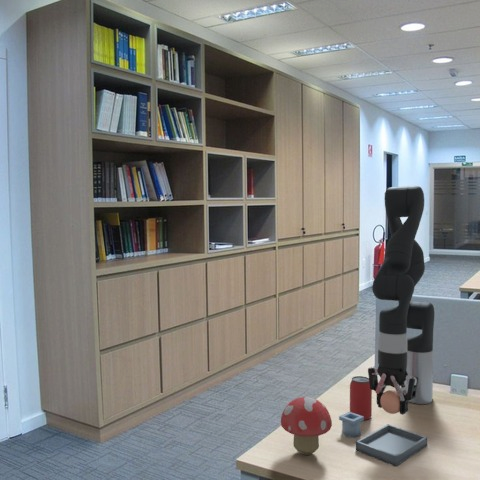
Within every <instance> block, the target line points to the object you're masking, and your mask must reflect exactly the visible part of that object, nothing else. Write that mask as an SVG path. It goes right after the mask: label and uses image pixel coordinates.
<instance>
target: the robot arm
mask: <svg viewBox="0 0 480 480" xmlns="http://www.w3.org/2000/svg"><path fill="white" fill-rule="evenodd" d="M424 194H425V193H424V190H423V187H421V186H419V185H407V186H406V185H404V186H391V187H388V188H387V189H386V190H385V192H384V208H385V214H386V218H387V222H388V227H389V234H390V238H389V240H388V241H387V243H386V247H385V253H384V258H383V262H382V265H381V266H380V268H379V270H378V271H377V273H376V275H375V277H374V279H373V281H372V285H371V286H372V287H371V288H372V289H371V290H372V292H373V293H372V294H373V295H374V296H375V298H377V299H378V300H382V301H393V302H394V301H395V302H396V301H398V305H397V306H396V307H389V308H384V309H381V310H380V312H379V317H378V318H379V319H378V321H379V324H378V326H379V328H378V331H379V332H378V337H377V365H378V366H377V367H376V366H375V365H374V366H371V367H369V368H368V369H367V372H368V378H369V384H370V389H371V390H372V391H374V392H375V393H376V404H377V407H378V408H379V409H383V408H382V406H381V403H380V399H381V396H382V395H383V393H384V392H385V390H386V388H387V387H389V386H390V387H392V388H394V389H395V391H396V392H397V393H398V394H399V397H400V399H401V400H400V412H399V414H400V415H405V414H407V412H408V411H409V403H412V404H417V405H426V404H430V403H432V402H433V394H434V393H433V391H434V390H433V385H434V384H433V383H434V380H433V379H434V375H433V373H434V372H433V364H434V363H433V362H434V361H433V359H434V358H433V356H434V355H433V354H434V352H433V351H434V326H435V307H434V305H433V304H432V303H431V302H428V301H427V302H425V301H415V300H412V298H413V295H414V293H415V292H414V291H415V287H416V285H418V283H419V282H420V280H421V279H422V277H423V275H424V273H425V269H426V266H425V257H424V250H423V248H422V247H421V245H420V244H419V243H418V242H417V240H416V236H417V232H418V229H419V227H420V223H421V220H422V217H423V214H424V210H425V195H424ZM401 218H406V220H405V221H404V222H402V219H401ZM407 329H413V330H420V331H421V333H420V334H418V335H416V336H411V337H408V335H407V334H408V333H407V332H408V330H407ZM378 375H379V377H380V379H379V378H378Z"/></svg>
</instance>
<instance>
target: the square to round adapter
mask: <svg viewBox="0 0 480 480" xmlns="http://www.w3.org/2000/svg"><path fill="white" fill-rule="evenodd" d="M338 420H339V421H342V422H341V426H342V427H341V428H342V429H341V430H342V431H341V433H342V435H343V436H345V437H347V438H358V437H360V436H362V435H361V433H362V431H361V430H362V426H361V424H362V423H361V422H362V421H365V420H364V416H361V415H358V414H355V413H352V412H350V411H348V412H345V413H343V414H341V415H339V416H338Z"/></svg>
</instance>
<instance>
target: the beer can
mask: <svg viewBox="0 0 480 480" xmlns="http://www.w3.org/2000/svg"><path fill="white" fill-rule="evenodd" d="M372 392H373V390H371V389H370V384H369V377H367V376H361V375H357V376H352V377H351V382H350V384H349V412H352V413H355V414H358V415H361V416H364V420H363V421H368V420H370V419H371V418H372V415H373V413H372V409H373V405H372V403H373V400H372V398H373V397H372V396H373V393H372Z"/></svg>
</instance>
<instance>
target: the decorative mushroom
mask: <svg viewBox="0 0 480 480" xmlns="http://www.w3.org/2000/svg"><path fill="white" fill-rule="evenodd" d="M332 421H333V420H332V417H331V414H330V412H329V410H328V409H327V407H326V406H325V405H324V404H323V403H322V402H321V401H319V400H318V399H316V398H314V397H309V396H300V397H296V398H294V399H292V400H291V401H290V402H288V403H287V405H286V406H285V408H284V409H283V411H282V413H281V416H280V425H281V428H282V429H283V430H284V431H286V432H287V433H289V434H291V435H293V443H292V444H293V447H294V449H295V450H296V451H297V452H298V453H300V454H301V455H304V456H309V455H312V454H314V453H315V452H316V451H317V450H318V449H319V446H320V445H319V443H320V441H319V436H322V435H324V434H327V433H328V432H329V431H330V430H331V429H332V426H333V423H332Z"/></svg>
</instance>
